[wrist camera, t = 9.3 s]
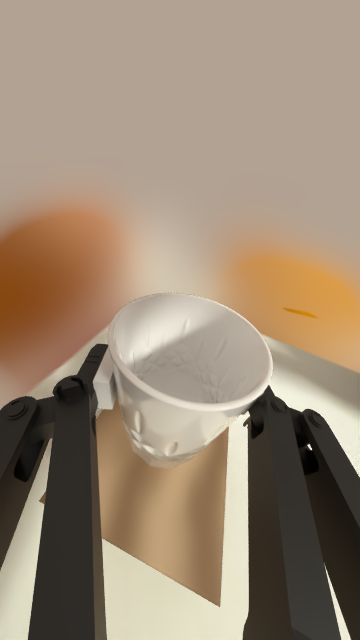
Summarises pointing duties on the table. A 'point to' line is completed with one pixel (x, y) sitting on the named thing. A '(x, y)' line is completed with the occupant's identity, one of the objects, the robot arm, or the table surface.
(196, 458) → the stool
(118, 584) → the table surface
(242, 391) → the white cup
